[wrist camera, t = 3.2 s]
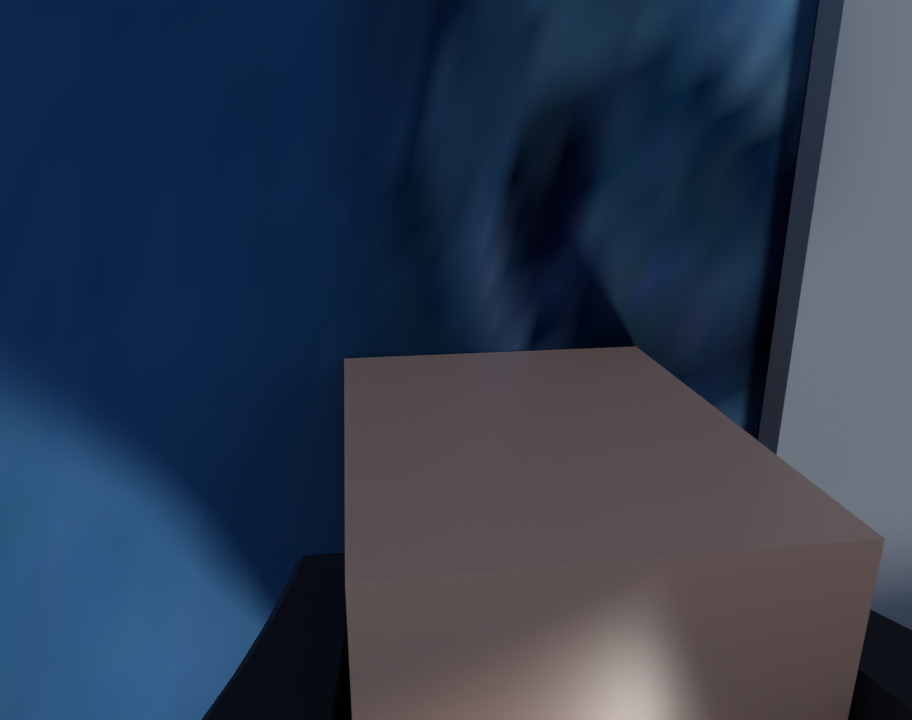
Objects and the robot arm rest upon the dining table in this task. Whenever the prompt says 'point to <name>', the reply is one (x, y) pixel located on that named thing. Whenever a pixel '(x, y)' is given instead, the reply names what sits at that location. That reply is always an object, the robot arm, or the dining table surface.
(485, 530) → the terracotta brick
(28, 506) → the dining table surface
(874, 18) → the build mat
